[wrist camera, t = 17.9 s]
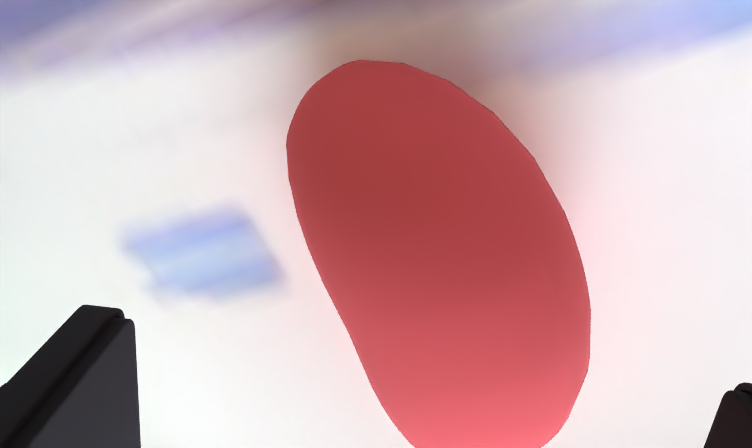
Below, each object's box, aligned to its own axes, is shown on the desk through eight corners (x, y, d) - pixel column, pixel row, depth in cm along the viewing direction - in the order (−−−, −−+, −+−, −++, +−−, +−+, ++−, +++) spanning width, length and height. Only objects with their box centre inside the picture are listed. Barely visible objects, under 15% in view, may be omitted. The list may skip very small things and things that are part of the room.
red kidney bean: (586, 52, 15) (497, -14, 9) (636, 441, 15) (577, 601, 9) (386, 98, 17) (225, 68, 12) (431, 430, 18) (292, 552, 12)
